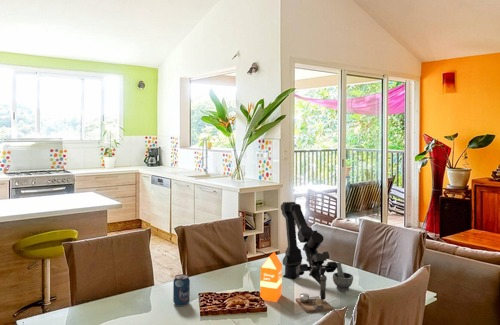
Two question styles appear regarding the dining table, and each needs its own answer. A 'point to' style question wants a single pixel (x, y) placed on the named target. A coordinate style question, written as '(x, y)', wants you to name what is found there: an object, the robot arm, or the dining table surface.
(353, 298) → the dining table surface
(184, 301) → the soda can
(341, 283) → the mortar and pestle
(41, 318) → the dining table surface
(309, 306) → the base
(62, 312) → the dining table surface
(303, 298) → the lever
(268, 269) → the orange juice
